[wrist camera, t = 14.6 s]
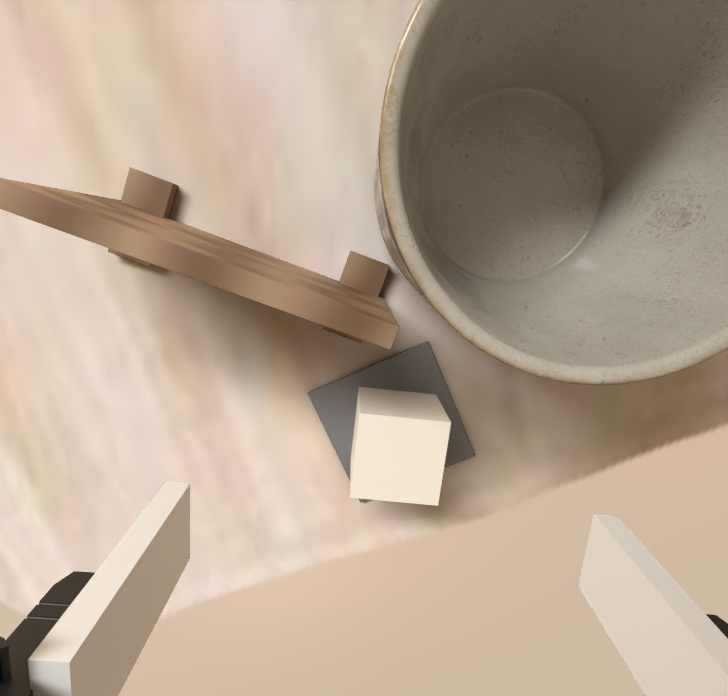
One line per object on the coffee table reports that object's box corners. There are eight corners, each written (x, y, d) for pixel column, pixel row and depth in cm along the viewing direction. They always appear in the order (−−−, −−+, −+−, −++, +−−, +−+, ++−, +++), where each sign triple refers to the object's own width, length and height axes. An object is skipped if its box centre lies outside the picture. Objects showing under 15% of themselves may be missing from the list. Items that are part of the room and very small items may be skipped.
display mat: (308, 392, 38) (307, 393, 37) (427, 341, 37) (428, 342, 37) (360, 499, 40) (360, 502, 39) (474, 452, 39) (475, 454, 39)
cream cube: (358, 386, 37) (359, 413, 32) (436, 394, 38) (451, 422, 32) (350, 462, 39) (349, 501, 33) (425, 469, 39) (437, 509, 33)
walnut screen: (107, 248, 35) (-31, 251, 23) (129, 167, 34) (-5, 121, 21) (366, 342, 37) (372, 393, 24) (395, 267, 36) (417, 280, 23)
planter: (448, 369, 38) (519, 463, 22) (317, 141, 34) (283, 49, 18) (676, 239, 36) (938, 235, 20) (563, -17, 32) (771, -275, 16)
